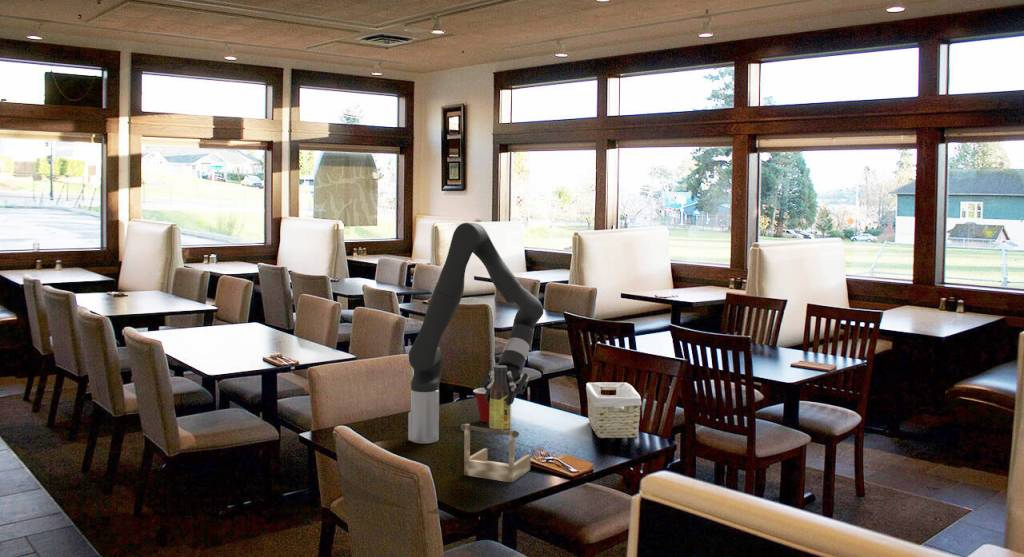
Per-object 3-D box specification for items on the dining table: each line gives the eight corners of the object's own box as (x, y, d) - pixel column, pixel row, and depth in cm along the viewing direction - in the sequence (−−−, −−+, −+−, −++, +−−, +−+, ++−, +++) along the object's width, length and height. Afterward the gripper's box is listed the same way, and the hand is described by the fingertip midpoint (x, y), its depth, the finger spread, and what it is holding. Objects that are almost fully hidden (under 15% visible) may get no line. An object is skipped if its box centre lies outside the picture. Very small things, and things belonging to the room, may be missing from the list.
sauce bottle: (507, 436, 253) (508, 369, 251) (487, 434, 255) (487, 367, 253) (512, 430, 260) (513, 364, 258) (492, 429, 261) (492, 363, 259)
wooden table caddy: (458, 474, 254) (459, 424, 253) (479, 462, 267) (479, 414, 265) (516, 483, 247) (517, 431, 246) (534, 470, 259) (535, 421, 258)
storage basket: (641, 439, 295) (643, 396, 294) (594, 439, 294) (595, 396, 293) (628, 421, 319) (629, 381, 317) (584, 421, 318) (585, 381, 316)
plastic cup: (485, 416, 323) (485, 384, 322) (508, 420, 317) (509, 388, 316) (466, 421, 314) (467, 389, 313) (490, 426, 308) (491, 393, 307)
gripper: (489, 347, 265) (471, 393, 255) (532, 350, 259) (516, 398, 249) (496, 361, 270) (479, 407, 260) (539, 365, 264) (523, 412, 254)
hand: (497, 402), depth 255 cm, fingers closed on sauce bottle, 6 cm apart
